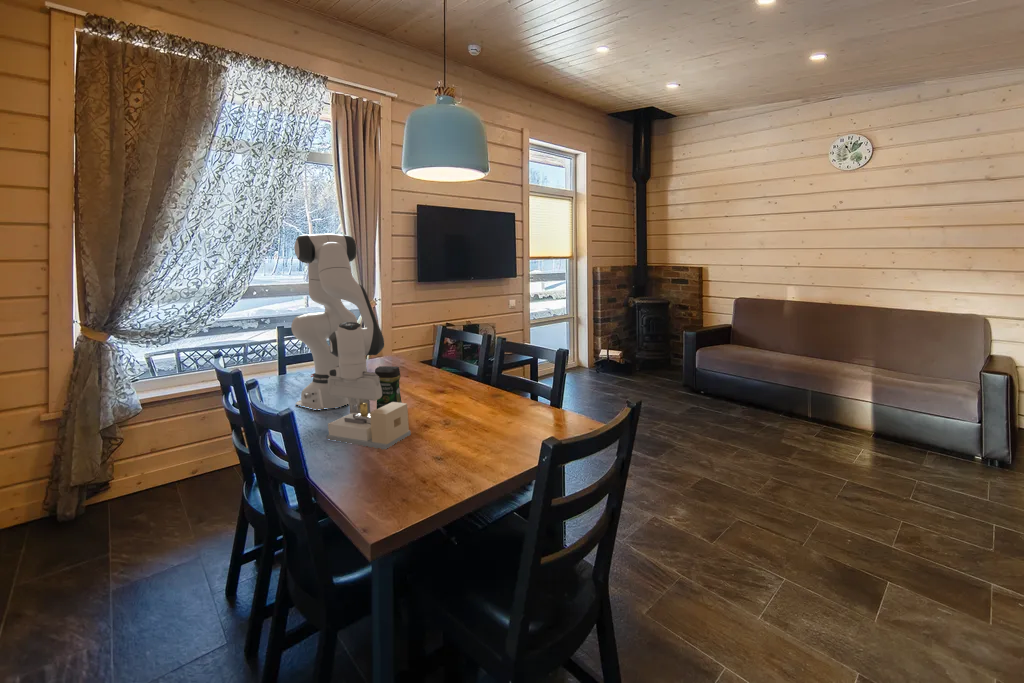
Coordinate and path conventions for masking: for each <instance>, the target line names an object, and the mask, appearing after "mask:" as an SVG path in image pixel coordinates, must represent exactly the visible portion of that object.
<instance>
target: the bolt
mask: <svg viewBox="0 0 1024 683" xmlns="http://www.w3.org/2000/svg"><path fill="white" fill-rule="evenodd" d="M354 417H355V419H358V420H365V423H371V419H370V414H368V407H367V403H361V404H360V413H359V414H357V415H354Z"/></svg>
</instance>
